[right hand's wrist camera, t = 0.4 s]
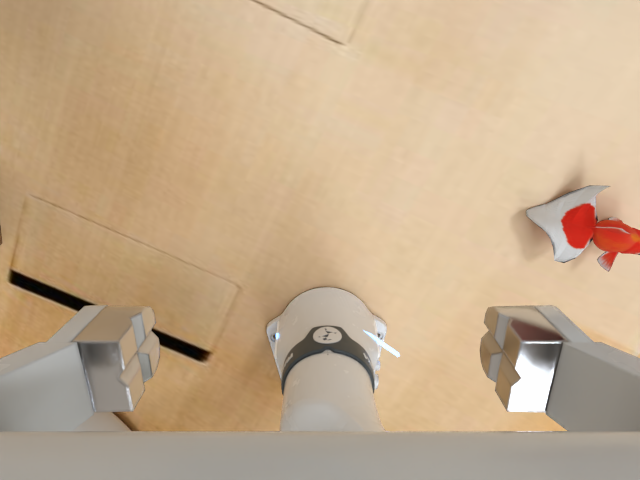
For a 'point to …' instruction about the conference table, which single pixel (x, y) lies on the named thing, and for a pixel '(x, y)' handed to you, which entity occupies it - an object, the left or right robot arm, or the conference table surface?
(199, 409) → the conference table surface
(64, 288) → the conference table surface
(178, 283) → the conference table surface
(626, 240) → the fish
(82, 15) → the conference table surface
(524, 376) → the right robot arm
